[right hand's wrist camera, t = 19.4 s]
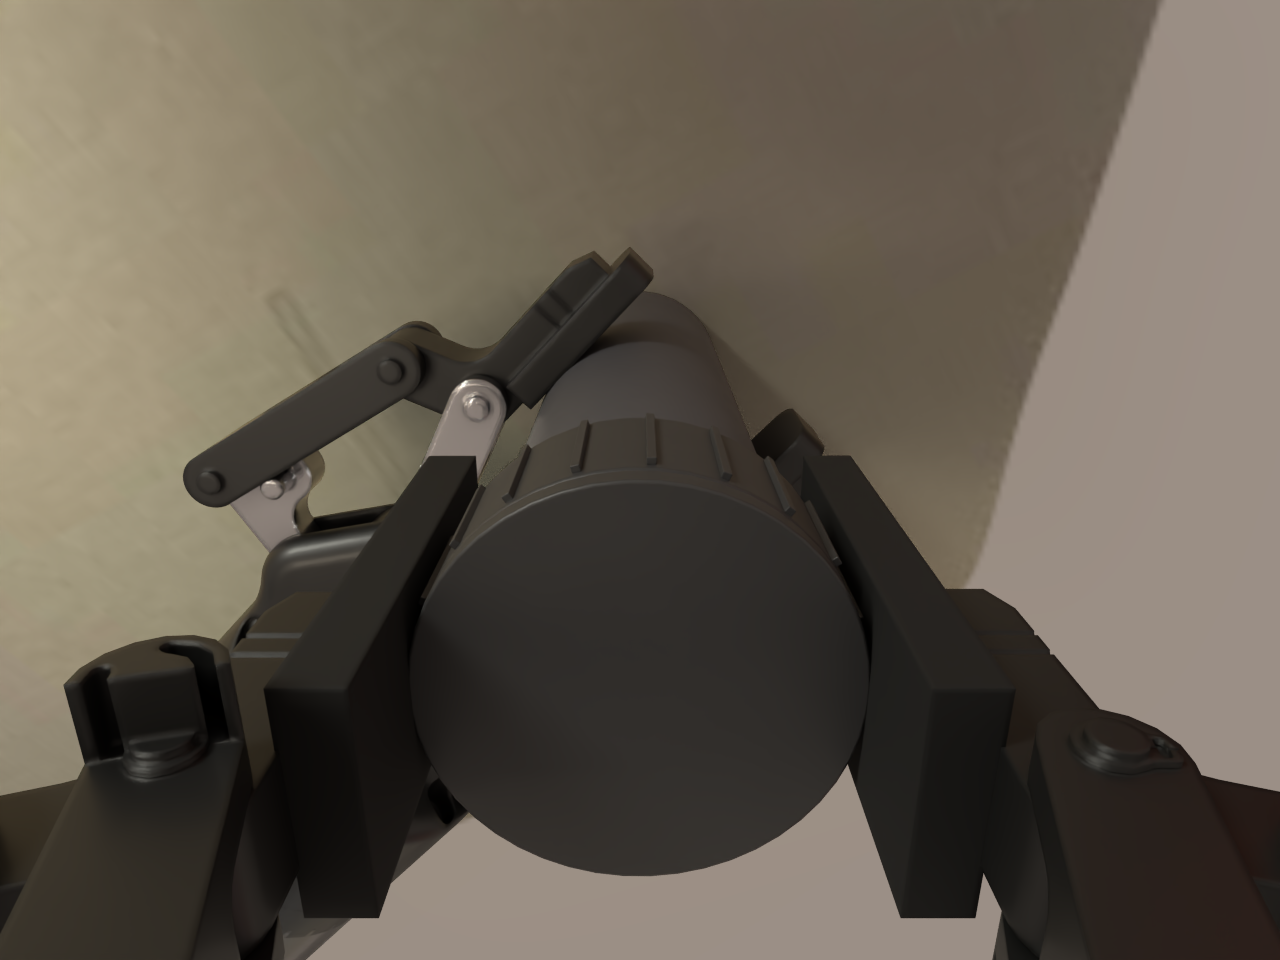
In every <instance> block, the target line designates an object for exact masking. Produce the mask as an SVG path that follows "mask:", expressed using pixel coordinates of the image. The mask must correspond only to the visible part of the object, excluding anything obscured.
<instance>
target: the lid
mask: <svg viewBox="0 0 1280 960" xmlns="http://www.w3.org/2000/svg"><path fill="white" fill-rule="evenodd" d="M841 564H842V562H841V560H840V558H839V556H838V554H837V552H836V550H835V548H834V546H833V544H832V542H831V540H830V538H829V536H828V534H827V532H826V530H825V528H824V526H823V524H822V522H821V520H820V518H819V516H818V514H817V512H816V510H815V508H814V506H813V505H812V503H811V501H810V500H809V501H807V502H805V503H804V502H803V500H802V499H801V498H800V496H799V495H798V494H797V492H796V491H795V489H794V488H793V487H792V485H791V484H790V483H789V482H788V481H787V480H786V479H785V478H784V477H783V476H782V475H781V474H780V473H779V471H778V469H777V467H776V465H775V462H774V460H773V459H772V458H770V457H769V456H767V457H766V458H765V459H763V458H761V457H760V456H759V455H757V454H756V453H755V452H754V451H752V450H750V449H748V448H747V447H745V446H743V445H741V444H740V443H738V442H736V441H735V440H733V439H731V438H728V437H726V436H724V435H721V434H720V431H719V428H718V427H715V426H711V427H710V429H706V428H703V427H699V426H695V425H692V424H688V423H684V422H680V421H672V420H665V419H658V418H655V417H654V414H653V413H646V418H622V419H614V420H605V421H599V422H595V423H591V424H589V421H588V419H587V420H583V421H580V425H579V427H575V428H573V429H570V430H567V431H565V432H562V433H560V434H557V435H555V436H552V437H550V438H548V439H546V440H544V441H543V442H541V443H539V444H537V445H535V446H534V447H532V448H530V446H529V445H528V444H527V445H525V446H524V447H522V448H521V450H520V453H519V455H518V457H517V458H516V459H515V460H513V461H512V462H511V463H509V464H508V465H507V466H506V467H505V468H504V469H503V470H502V471H501V472H500V473H499V474H498V475H497V476H496V477H495V478H494V479H493V480H491V481H490V483H489V484H488V485H487V487H486V488H485V487H484V486H482V485H480V486H479V487H478V488H477V490H476V492H475V494H474V496H473V498H472V500H471V502H470V504H469V506H468V508H467V510H466V512H465V514H464V516H463V518H462V520H461V522H460V524H459V526H458V528H457V530H456V532H455V534H454V536H453V535H452V536H451V537H450V539H449V541H448V543H447V545H446V547H445V549H444V551H443V553H442V555H441V557H440V559H439V561H438V563H437V565H436V567H435V569H434V571H433V573H432V575H431V577H430V579H429V581H428V583H427V585H426V587H425V589H424V591H423V593H422V595H421V597H420V600H419V603H418V604H419V605H422V606H423V607H422V610H421V613H420V615H419V618H418V620H417V623H416V626H415V628H414V633H413V638H412V642H411V647H410V651H409V661H408V665H409V681H410V691H411V700H412V709H413V717H414V724H415V728H416V732H417V735H418V737H419V739H420V742H421V744H422V747H423V749H424V752H425V754H426V756H427V758H428V760H429V761H430V763H431V765H432V767H433V768H434V770H435V772H436V773H437V775H438V777H439V778H440V780H441V781H442V782H443V784H444V785H445V786H446V787H447V789H448V790H449V791H450V792H451V794H452V795H453V796H454V798H455V799H456V800H457V801H458V802H459V803H460V804H461V805H462V806H463V807H464V808H465V809H466V810H467V811H468V812H469V813H470V814H471V815H472V816H474V817H475V818H476V819H477V820H479V821H480V822H481V823H483V824H484V825H485V826H486V827H488V828H489V829H490V830H492V831H493V832H494V833H496V834H497V835H499V836H500V837H502V838H504V839H506V840H507V841H509V842H511V843H512V844H514V845H516V846H517V847H519V848H521V849H523V850H526V851H528V852H530V853H532V854H534V855H537V856H539V857H541V858H543V859H546V860H549V861H552V862H555V863H558V864H562V865H564V866H568V867H572V868H576V869H581V870H585V871H590V872H594V873H602V874H611V875H620V876H657V875H667V874H678V873H683V872H688V871H693V870H698V869H703V868H707V867H710V866H713V865H717V864H720V863H723V862H727V861H730V860H732V859H735V858H737V857H739V856H742V855H744V854H746V853H749V852H751V851H753V850H756V849H757V848H759V847H761V846H763V845H764V844H766V843H768V842H770V841H771V840H773V839H775V838H777V837H778V836H780V835H781V834H783V833H784V832H785V831H787V830H788V829H789V828H791V827H792V826H794V825H795V824H796V823H798V822H799V821H800V820H802V819H803V818H804V817H805V816H806V815H807V814H808V813H809V812H810V811H811V810H812V809H813V808H814V807H815V806H816V805H817V804H818V803H820V801H821V800H822V799H823V798H824V797H825V795H826V794H827V793H828V792H829V790H830V789H831V788H832V787H833V786H834V784H835V783H836V782H837V780H838V779H839V777H840V776H841V774H842V772H843V771H844V769H845V768H846V766H847V764H848V763H849V761H850V759H851V757H852V755H853V752H854V750H855V748H856V746H857V743H858V741H859V739H860V737H861V733H862V729H863V726H864V722H865V719H866V712H867V703H868V694H869V685H870V655H869V650H868V645H867V639H866V634H865V631H864V628H863V615H862V613H861V611H860V609H859V607H858V605H857V603H856V601H855V599H854V597H853V595H852V593H851V591H850V588H849V586H848V584H847V582H846V580H845V578H844V576H843V574H842V572H841V570H840V568H839V565H841Z"/></svg>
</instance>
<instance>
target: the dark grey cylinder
mask: <svg viewBox="0 0 1280 960" xmlns="http://www.w3.org/2000/svg"><path fill="white" fill-rule="evenodd" d="M646 413H653V414H654V417H655V418H658V419H665V420H672V421H680V422H684V423H688V424H692V425H695V426H699V427H703V428H706V429H710V427H711V426H715V427H718V428H719V431H720V434H721V435H724V436H726V437H728V438H731V439H733V440H735V441H736V442H738V443H740V444H741V445H743V446H745V447H747V448H748V449H750V450H752V451H754V452H755V453H756V451H755V449H754V446H753V444H752V441H751V439H750V436H749V434H748V431H747V429H746V426H745V424H744V421H743V419H742V416H741V414H740V411H739V409H738V406H737V404H736V401H735V399H734V396H733V394H732V391H731V389H730V386H729V384H728V381H727V379H726V376H725V374H724V371H723V369H722V366H721V364H720V361H719V359H718V356H717V354H716V351H715V349H714V346H713V344H712V341H711V339H710V336H709V334H708V332H707V330H706V329H705V327H704V325H703V324H702V323H701V321H700V320H699V319H698V318H697V317H696V316H695V315H694V314H693V313H692V312H691V311H690V310H689V309H688V308H686V307H685V306H684V305H682V304H681V303H679V302H677V301H675V300H674V299H671V298H669V297H666V296H664V295H660V294H656V293H651V292H642V293H641V294H640V295H639V296H638V297H637V298H636V299H635V300H634V301H633V302H632V303H631V305H630V306H629V307H628V308H627V309H626V310H625V311H624V312H623V313H622V314H621V315H620V316H619V317H618V318H617V319H616V320H615V321H614V322H613V323H612V325H611V326H610V327H609V328H608V329H607V330H606V331H605V332H604V333H603V334H602V335H601V336H600V337H599V338H598V339H597V340H596V341H595V342H594V344H593V345H592V346H591V347H590V348H589V349H588V350H587V351H586V352H585V353H584V354H583V355H582V356H581V357H580V358H579V359H578V360H577V361H576V362H575V364H574V365H573V366H572V367H571V368H570V369H569V370H568V371H567V372H566V373H565V374H564V375H563V376H562V377H561V378H560V379H559V380H558V381H557V382H556V383H555V384H554V386H553V387H552V388H551V389H550V390H549V391H548V392H547V393H546V395H545V398H544V400H543V403H542V405H541V408H540V410H539V413H538V415H537V418H536V420H535V423H534V425H533V428H532V430H531V433H530V435H529V438H528V440H527V443H526V445H527V444H528V445H529V446H530V448H532V447H534V446H535V445H537V444H539V443H541V442H543V441H544V440H546V439H548V438H550V437H552V436H555V435H557V434H560V433H562V432H565V431H567V430H570V429H573V428H575V427H579V425H580V421H583V420H587V419H588V421H589V424H591V423H595V422H599V421H605V420H614V419H622V418H646Z"/></svg>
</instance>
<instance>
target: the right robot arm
mask: <svg viewBox="0 0 1280 960" xmlns="http://www.w3.org/2000/svg"><path fill="white" fill-rule="evenodd" d="M477 488H478V478H477V463H476V456H429V457H428V458H427V459H426V461H425V462H424V464H423V465H422V466H421V468H420V469H419V471H418V472H417V474H416V475H415V476H414V478H413V479H412V481H411V482H410V483H409V485H408V486H407V488H406V489H405V490H404V492H403V493H402V495H401V496H400V497H399V499H398V500H397V502H396V503H395V504H394V506H393V507H392V509H391V510H390V511H389V513H388V514H387V516H386V517H385V518H384V520H383V521H382V523H381V524H380V525H379V527H378V528H377V530H376V531H375V533H374V534H373V535H372V537H371V538H370V540H369V541H368V542H367V544H366V545H365V547H364V548H363V549H362V551H361V552H360V554H359V555H358V556H357V558H356V559H355V561H354V562H353V563H352V565H351V566H350V568H349V569H348V570H347V572H346V573H345V575H344V576H343V577H342V579H341V580H340V582H339V583H338V585H337V586H336V587H335V589H334V590H333V592H296V593H294V594H292V595H291V596H289V597H287V598H286V599H284V600H283V601H281V602H279V603H278V604H276V605H274V606H273V607H271V608H269V609H268V610H266V611H265V612H264V613H263V614H262V615H261V616H260V618H259V619H258V620H257V621H256V622H255V624H254V625H253V626H252V627H251V628H250V630H249V631H248V632H247V633H246V638H242V639H241V641H240V642H239V643H238V644H237V645H236V647H235V648H234V649H233V650H232V651H231V653H230V655H229V650H228V649H227V648H226V647H225V646H223V645H222V644H221V643H219V642H218V641H217V640H215V639H210V638H205V637H200V636H195V635H185V636H164V637H159V638H155V639H150V640H145V641H140V642H135V643H132V644H130V645H127V646H124V647H122V648H119V649H116V650H113V651H111V652H108V653H105V654H103V655H102V656H100V657H98V658H97V659H95V660H93V661H91V662H90V663H88V664H86V665H85V666H83V667H81V668H80V669H79V670H78V671H77V672H76V673H75V674H74V675H73V676H72V677H71V678H70V679H69V680H68V681H67V682H66V683H65V684H64V689H65V693H66V696H67V700H68V704H69V707H70V711H71V715H72V718H73V722H74V726H75V729H76V733H77V737H78V740H79V744H80V748H81V752H82V755H83V759H84V763H85V765H84V767H83V769H82V771H81V773H80V775H79V777H78V779H77V780H73V781H69V782H65V783H62V784H57V785H52V786H47V787H42V788H37V789H32V790H27V791H22V792H17V793H12V794H7V795H2V796H0V960H284V955H285V948H284V941H283V933H282V928H281V923H280V918H279V912H280V909H281V907H282V905H283V903H284V901H285V899H286V897H287V895H288V893H289V891H290V889H291V886H292V884H293V882H294V880H295V878H296V876H297V881H298V887H299V892H300V898H301V904H302V909H303V915H304V918H379V916H380V913H381V910H382V907H383V904H384V901H385V899H386V896H387V893H388V890H389V887H390V884H391V881H392V878H393V875H394V872H395V869H396V867H397V864H398V861H399V858H400V855H401V852H402V849H403V846H404V843H405V840H406V837H407V835H408V832H409V829H410V826H411V823H412V820H413V817H414V814H415V811H416V808H417V805H418V803H419V800H420V797H421V794H422V791H423V788H424V785H425V782H426V779H427V776H428V774H429V771H430V768H431V763H430V761H429V760H428V758H427V756H426V754H425V752H424V749H423V747H422V744H421V742H420V739H419V737H418V735H417V732H416V728H415V724H414V717H413V709H412V700H411V691H410V681H409V665H408V661H409V651H410V647H411V642H412V638H413V633H414V628H415V626H416V623H417V620H418V618H419V615H420V613H421V610H422V607H423V606H422V605H419V604H418V603H419V600H420V597H421V595H422V593H423V591H424V589H425V587H426V585H427V583H428V581H429V579H430V577H431V575H432V573H433V571H434V569H435V567H436V565H437V563H438V561H439V559H440V557H441V555H442V553H443V551H444V549H445V547H446V545H447V543H448V541H449V539H450V537H451V536H452V535H453V536H454V534H455V532H456V530H457V528H458V526H459V524H460V522H461V520H462V518H463V516H464V514H465V512H466V510H467V508H468V506H469V504H470V502H471V500H472V498H473V496H474V494H475V492H476V490H477ZM801 499H802V500H803V502H804V503H805V502H807V501H809V500H810V501H811V503H812V505H813V506H814V508H815V510H816V512H817V514H818V516H819V518H820V520H821V522H822V524H823V526H824V528H825V530H826V532H827V534H828V536H829V538H830V540H831V542H832V544H833V546H834V548H835V550H836V552H837V554H838V556H839V558H840V560H841V562H842V564H841V565H839V568H840V570H841V572H842V574H843V576H844V578H845V580H846V582H847V584H848V586H849V588H850V591H851V593H852V595H853V597H854V599H855V601H856V603H857V605H858V607H859V609H860V611H861V613H862V615H863V628H864V631H865V634H866V639H867V645H868V650H869V655H870V685H869V694H868V703H867V712H866V719H865V722H864V726H863V729H862V733H861V737H860V739H859V741H858V743H857V746H856V748H855V750H854V752H853V755H852V757H851V759H850V761H849V763H848V766H849V769H850V772H851V775H852V778H853V781H854V784H855V787H856V789H857V792H858V795H859V798H860V801H861V804H862V807H863V810H864V813H865V816H866V819H867V821H868V824H869V827H870V830H871V833H872V836H873V839H874V842H875V845H876V848H877V851H878V853H879V856H880V859H881V862H882V865H883V868H884V871H885V874H886V877H887V880H888V882H889V885H890V888H891V891H892V894H893V897H894V900H895V903H896V906H897V909H898V912H899V914H900V917H901V918H975V917H976V912H977V906H978V900H979V895H980V889H981V883H982V878H983V873H984V875H985V877H986V879H987V881H988V883H989V885H990V887H991V889H992V891H993V893H994V896H995V898H996V900H997V902H998V904H999V906H1000V908H1001V910H1002V912H1001V918H1000V923H999V928H998V933H997V938H996V944H995V949H994V954H993V959H992V960H1280V792H1278V791H1273V790H1268V789H1263V788H1258V787H1253V786H1248V785H1243V784H1238V783H1233V782H1228V781H1223V780H1218V779H1214V778H1210V777H1206V776H1203V775H1201V773H1200V771H1199V769H1198V767H1197V765H1196V763H1195V762H1194V761H1193V760H1192V758H1191V757H1190V756H1189V755H1188V753H1187V752H1186V751H1185V750H1184V748H1183V747H1182V746H1181V745H1180V744H1179V743H1177V742H1176V741H1174V740H1173V739H1171V738H1170V737H1169V736H1167V735H1166V734H1164V733H1163V732H1161V731H1160V730H1158V729H1157V728H1155V727H1153V726H1150V725H1148V724H1146V723H1143V722H1141V721H1139V720H1136V719H1134V718H1132V717H1129V716H1126V715H1122V714H1118V713H1114V712H1109V711H1105V710H1101V709H1099V708H1098V707H1097V706H1096V704H1095V703H1094V702H1093V701H1092V700H1091V698H1090V697H1089V696H1088V695H1087V694H1086V692H1085V691H1084V690H1083V689H1082V688H1081V686H1080V685H1079V684H1078V683H1077V682H1076V680H1075V679H1074V678H1073V677H1072V676H1071V674H1070V673H1069V672H1068V671H1067V670H1066V668H1065V667H1064V666H1063V665H1062V664H1061V662H1060V661H1059V660H1058V659H1057V658H1056V657H1055V655H1050V649H1049V648H1048V647H1047V646H1046V645H1045V643H1044V642H1043V641H1042V640H1041V639H1040V637H1039V636H1038V635H1034V630H1033V629H1032V628H1031V627H1030V625H1029V624H1028V623H1027V622H1026V621H1025V619H1024V618H1023V617H1022V616H1021V615H1020V614H1019V612H1018V611H1017V610H1016V609H1015V608H1014V607H1012V606H1010V605H1009V604H1007V603H1006V602H1004V601H1002V600H1001V599H999V598H997V597H996V596H994V595H992V594H991V593H989V592H987V591H986V590H984V589H945V588H944V587H943V585H942V584H941V582H940V581H939V580H938V578H937V577H936V575H935V574H934V573H933V571H932V570H931V568H930V567H929V566H928V564H927V563H926V561H925V560H924V559H923V557H922V556H921V554H920V553H919V552H918V550H917V549H916V547H915V546H914V544H913V543H912V542H911V540H910V539H909V537H908V536H907V535H906V533H905V532H904V530H903V529H902V528H901V526H900V525H899V523H898V522H897V521H896V519H895V518H894V516H893V515H892V514H891V512H890V511H889V509H888V508H887V507H886V505H885V504H884V502H883V501H882V499H881V498H880V497H879V495H878V494H877V492H876V491H875V490H874V488H873V487H872V485H871V484H870V483H869V481H868V480H867V478H866V477H865V476H864V474H863V473H862V471H861V470H860V469H859V467H858V466H857V464H856V463H855V462H854V460H853V459H852V457H851V456H804V457H803V471H802V485H801Z"/></svg>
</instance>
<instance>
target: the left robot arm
mask: <svg viewBox="0 0 1280 960" xmlns="http://www.w3.org/2000/svg"><path fill="white" fill-rule="evenodd" d="M653 277H654V275H653V269H652V268H651V267H650V266H649V265H648V264H647V263H646V262H645V261H644V260H643V259H642V258H641V257H640V256H639V255H638V254H637V253H636V252H635V251H634V250H633V249H632V248H631V247H629V248H628V249H627V250H626V251H625V252H624V253H623V254H622V255H621V256H620V257H619V258H618V259H617V260H616V261H615V262H614V263H613V264H612V265H611V266H609V265H608V264H607V263H606V262H605V261H604V260H603V259H602V258H601V257H600V256H599V255H598V254H597V253H596V252H595V251H593V252H591V253H589V254H586V255H584V256H582V257H580V258H578V259H576V260H574V261H572V262H571V263H570V264H569V265H568V266H567V267H566V268H565V270H564V271H563V272H562V273H561V274H560V275H559V276H558V277H557V278H556V279H555V281H554V282H553V283H552V284H551V285H550V286H549V287H548V288H547V289H546V290H545V291H544V293H543V294H542V295H541V296H540V297H539V298H538V299H537V300H536V301H535V302H534V304H533V305H532V306H531V307H530V308H529V309H528V310H527V311H526V312H525V313H524V315H523V316H522V317H521V318H520V319H519V320H518V321H517V322H516V323H515V324H514V326H513V327H512V328H511V329H510V330H509V331H508V332H507V333H506V334H505V335H504V337H503V338H502V339H501V340H499V341H498V342H497V343H495V344H494V345H492V346H490V347H486V348H481V349H473V348H468V347H465V346H462V345H460V344H457V343H455V342H453V341H450V340H448V339H446V338H443V337H442V336H441V334H440V333H439V331H438V330H437V329H436V328H435V327H433V326H432V325H430V324H428V323H426V322H422V321H412V322H408V323H406V324H404V325H402V326H401V327H399V328H398V329H396V330H394V331H393V332H391V333H390V334H388V335H387V336H385V337H383V338H382V339H380V340H379V341H377V342H375V343H374V344H372V345H371V346H369V347H367V348H366V349H364V350H363V351H361V352H359V353H358V354H356V355H355V356H353V357H351V358H350V359H348V360H347V361H345V362H343V363H342V364H340V365H339V366H337V367H335V368H334V369H332V370H331V371H329V372H327V373H326V374H324V375H323V376H321V377H319V378H318V379H316V380H315V381H313V382H311V383H310V384H308V385H307V386H305V387H303V388H302V389H300V390H299V391H297V392H295V393H294V394H292V395H291V396H289V397H288V398H286V399H284V400H283V401H281V402H280V403H278V404H276V405H275V406H273V407H272V408H270V409H268V410H267V411H265V412H264V413H262V414H260V415H259V416H257V417H256V418H254V419H252V420H251V421H249V422H248V423H246V424H244V425H243V426H241V427H240V428H238V429H237V430H235V431H234V432H232V433H231V434H229V435H228V436H226V437H225V438H223V439H222V440H220V441H219V442H217V443H216V444H214V445H213V446H211V447H210V448H208V449H207V450H205V451H204V452H202V453H201V454H199V455H198V456H196V457H195V458H193V459H192V460H191V461H190V462H189V463H188V464H187V465H186V467H185V469H184V473H183V481H184V485H185V487H186V489H187V491H188V493H189V494H190V495H191V496H192V497H193V498H194V499H195V500H196V501H198V502H199V503H201V504H203V505H206V506H209V507H223V506H227V505H229V504H230V505H231V506H232V507H233V508H234V510H235V511H236V512H237V513H238V515H239V516H240V517H241V518H242V519H243V521H244V522H245V523H246V524H247V526H248V527H249V528H250V529H251V530H252V532H253V533H254V534H255V535H256V537H257V538H258V539H259V540H260V542H261V543H262V544H263V545H264V546H265V548H266V549H267V550H268V551H269V555H268V556H267V558H266V560H265V563H264V565H263V569H262V578H261V586H260V590H259V594H258V596H257V598H256V600H255V601H254V603H253V604H252V605H251V606H250V607H249V608H248V609H247V610H246V611H245V612H244V614H243V615H242V616H241V617H240V618H239V619H238V620H237V621H236V622H235V623H234V625H233V626H232V627H231V628H230V629H229V630H228V631H227V632H226V633H225V634H224V636H223V637H222V638H221V639H220V640H219V641H218V642H219V643H221V644H222V645H223V646H225V647H226V648H227V649H228V650H229V655H230V653H231V651H232V650H233V649H234V648H235V647H236V645H237V644H238V643H239V642H240V641H241V639H242V638H246V633H247V632H248V631H249V630H250V628H251V627H252V626H253V625H254V624H255V622H256V621H257V620H258V619H259V618H260V616H261V615H262V614H263V613H264V612H265V611H266V610H268V609H269V608H271V607H273V606H274V605H276V604H278V603H279V602H281V601H283V600H284V599H286V598H287V597H289V596H291V595H292V594H294V593H296V592H333V590H334V589H335V587H336V586H337V585H338V583H339V582H340V580H341V579H342V577H343V576H344V575H345V573H346V572H347V570H348V569H349V568H350V566H351V565H352V563H353V562H354V561H355V559H356V558H357V556H358V555H359V554H360V552H361V551H362V549H363V548H364V547H365V545H366V544H367V542H368V541H369V540H370V538H371V537H372V535H373V534H374V533H375V531H376V530H377V528H378V527H379V525H380V524H381V523H382V521H383V520H384V518H385V517H386V516H387V514H388V513H389V511H390V510H391V509H392V507H393V506H394V504H395V503H394V504H389V505H383V506H377V507H371V508H365V509H359V510H353V511H347V512H341V513H335V514H329V515H324V516H318V517H312V515H311V513H310V511H309V508H308V496H309V493H310V491H311V490H312V489H313V488H314V487H315V486H316V485H317V484H318V483H319V482H320V481H321V479H322V478H323V476H324V473H325V463H324V459H323V457H322V455H321V454H320V452H319V451H318V450H319V449H321V448H323V447H324V446H326V445H328V444H329V443H331V442H332V441H334V440H336V439H337V438H339V437H341V436H342V435H344V434H346V433H347V432H349V431H351V430H352V429H354V428H356V427H357V426H359V425H360V424H362V423H364V422H365V421H367V420H369V419H370V418H372V417H374V416H375V415H377V414H379V413H380V412H382V411H383V410H385V409H387V408H388V407H390V406H392V405H393V404H395V403H397V402H398V401H400V400H402V399H403V398H404V399H406V400H408V401H411V402H413V403H416V404H418V405H421V406H423V407H425V408H428V409H430V410H433V411H435V412H438V413H440V414H442V417H441V419H440V421H439V424H438V426H437V429H436V431H435V433H434V436H433V438H432V441H431V443H430V446H429V448H428V450H427V453H426V455H425V458H424V460H423V462H422V464H421V466H422V465H423V464H424V462H425V461H426V459H427V458H428V457H429V456H476V463H477V478H478V483H479V481H480V479H481V477H482V474H483V472H484V470H485V468H486V465H487V463H488V461H489V458H490V456H491V454H492V451H493V449H494V446H495V444H496V442H497V440H498V437H499V435H500V433H501V430H502V428H503V426H504V424H505V421H506V420H507V419H508V418H509V417H510V416H511V415H512V414H513V413H514V412H515V411H516V410H517V409H518V407H519V406H520V405H521V404H522V403H524V404H525V405H526V406H527V407H528V408H530V409H532V408H533V407H534V406H535V405H536V404H537V403H538V401H539V400H540V399H541V398H542V397H543V396H544V395H545V394H546V393H547V392H548V391H549V390H550V389H551V388H552V387H553V386H554V384H555V383H556V382H557V381H558V380H559V379H560V378H561V377H562V376H563V375H564V374H565V373H566V372H567V371H568V370H569V369H570V368H571V367H572V366H573V365H574V364H575V362H576V361H577V360H578V359H579V358H580V357H581V356H582V355H583V354H584V353H585V352H586V351H587V350H588V349H589V348H590V347H591V346H592V345H593V344H594V342H595V341H596V340H597V339H598V338H599V337H600V336H601V335H602V334H603V333H604V332H605V331H606V330H607V329H608V328H609V327H610V326H611V325H612V323H613V322H614V321H615V320H616V319H617V318H618V317H619V316H620V315H621V314H622V313H623V312H624V311H625V310H626V309H627V308H628V307H629V306H630V305H631V303H632V302H633V301H634V300H635V299H636V298H637V297H638V296H639V295H640V294H641V293H642V292H643V291H644V289H645V288H646V287H647V286H648V285H649V283H650V282H651V281H652V279H653ZM751 441H752V444H753V446H754V449H755V451H756V454H757V455H759V456H760V457H761V458H763V459H765V458H766V457H767V456H769V457H770V458H772V459H773V460H774V462H775V465H776V467H777V469H778V471H779V473H780V474H781V475H782V476H783V477H784V478H785V479H786V480H787V481H788V482H789V483H790V484H791V485H792V487H793V488H794V489H795V491H796V492H797V494H798V495H799V496H800V498H801V485H802V471H803V457H804V456H822V454H823V451H824V445H823V444H822V442H821V441H820V439H819V438H818V436H817V435H816V433H815V431H814V430H813V429H812V428H811V427H810V426H809V425H808V424H807V423H806V422H805V421H804V420H803V419H802V418H801V417H800V416H799V415H798V414H797V413H796V412H795V411H794V410H793V409H787V410H785V411H783V412H782V413H780V414H779V415H778V416H777V417H776V418H774V419H773V420H772V421H771V422H770V423H769V424H768V425H767V426H766V427H765V428H764V429H763V430H762V431H761V432H760V433H758V434H757V435H756V436H755V437H754V438H753V439H752V440H751ZM421 466H420V468H421ZM420 468H419V469H420ZM418 471H419V470H418ZM467 813H468V811H467V810H466V809H465V808H464V807H463V806H462V805H461V804H460V803H459V802H458V801H457V800H456V799H455V798H454V796H453V795H452V794H451V792H450V791H449V790H448V789H447V787H446V786H445V785H444V784H443V782H442V781H441V780H440V778H439V777H438V775H437V773H436V772H435V770H434V768H433V767H432V765H431V768H430V771H429V774H428V776H427V779H426V782H425V785H424V788H423V791H422V794H421V797H420V800H419V803H418V805H417V808H416V811H415V814H414V817H413V820H412V823H411V826H410V829H409V832H408V835H407V837H406V840H405V843H404V846H403V849H402V852H401V855H400V858H399V861H398V864H397V867H396V869H395V872H394V875H393V878H392V881H391V883H392V882H393V881H394V880H395V879H396V878H397V877H398V876H400V875H401V874H402V873H403V872H404V871H405V870H406V869H407V868H408V867H410V866H411V865H412V864H413V863H414V862H415V861H416V860H417V859H418V858H420V857H421V856H422V855H423V854H424V853H425V852H426V851H427V850H429V849H430V848H431V847H432V846H433V845H434V844H435V843H436V842H437V841H439V840H440V839H441V838H442V837H443V836H444V835H445V834H446V833H448V832H449V831H450V830H451V829H452V828H453V827H454V826H455V825H456V824H458V823H459V822H460V821H461V820H462V819H463V818H464V817H465V815H466V814H467ZM279 918H280V923H281V928H282V933H283V941H284V948H285V955H284V960H306V959H307V958H308V957H309V956H310V955H311V954H313V953H314V952H315V951H316V950H317V949H318V948H319V947H320V946H322V945H323V944H324V943H325V942H326V941H327V940H328V939H329V938H330V937H331V936H333V935H334V934H335V933H336V932H337V931H338V930H339V929H340V928H342V927H343V926H344V925H345V924H346V923H347V922H348V921H349V920H350V919H351V918H304V915H303V909H302V904H301V898H300V892H299V887H298V881H297V876H296V878H295V880H294V882H293V884H292V886H291V889H290V891H289V893H288V895H287V897H286V899H285V901H284V903H283V905H282V907H281V909H280V912H279Z"/></svg>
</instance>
